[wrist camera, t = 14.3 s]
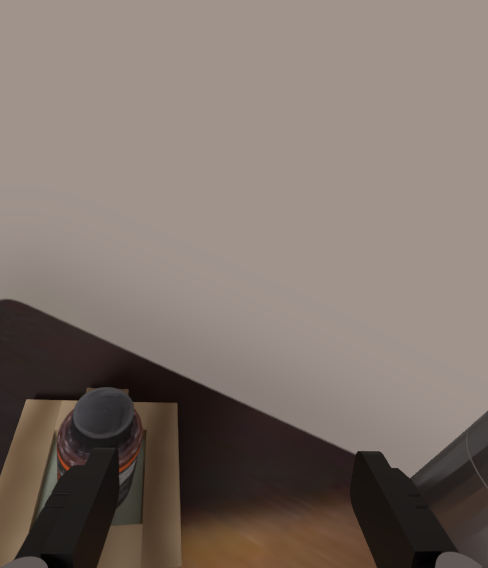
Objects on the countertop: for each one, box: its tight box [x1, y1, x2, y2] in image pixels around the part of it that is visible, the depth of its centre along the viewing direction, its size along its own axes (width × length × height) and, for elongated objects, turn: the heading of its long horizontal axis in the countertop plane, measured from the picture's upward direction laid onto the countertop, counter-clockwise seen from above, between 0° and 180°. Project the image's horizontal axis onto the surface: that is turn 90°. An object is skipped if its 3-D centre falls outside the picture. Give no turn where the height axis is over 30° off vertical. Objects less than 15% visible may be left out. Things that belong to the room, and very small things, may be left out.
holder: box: [0, 388, 182, 568], centre depth 31 cm, size 14×16×2 cm
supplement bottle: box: [57, 387, 143, 509], centre depth 28 cm, size 6×6×11 cm
